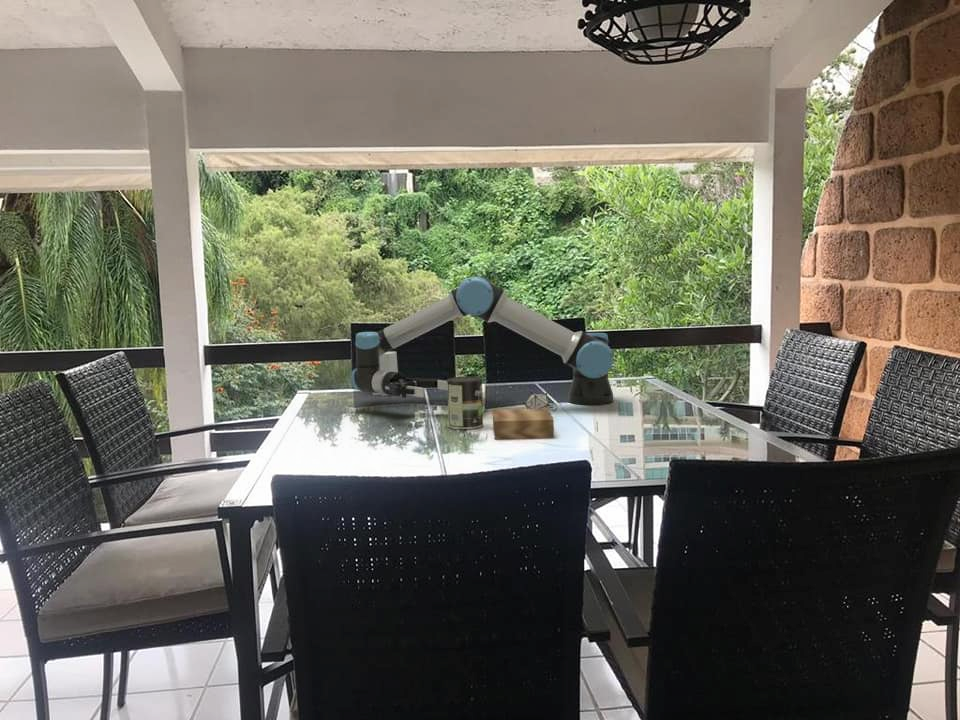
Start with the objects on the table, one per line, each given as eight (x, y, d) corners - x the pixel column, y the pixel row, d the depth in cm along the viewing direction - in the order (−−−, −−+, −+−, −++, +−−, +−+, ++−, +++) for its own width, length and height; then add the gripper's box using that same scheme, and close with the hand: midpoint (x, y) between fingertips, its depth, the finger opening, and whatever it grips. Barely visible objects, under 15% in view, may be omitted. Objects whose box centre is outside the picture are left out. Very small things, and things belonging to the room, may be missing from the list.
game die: (543, 429, 239) (562, 402, 239) (536, 425, 231) (556, 397, 232) (520, 413, 243) (539, 387, 243) (513, 408, 235) (532, 381, 235)
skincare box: (399, 393, 289) (398, 351, 287) (390, 396, 283) (388, 353, 281) (380, 392, 293) (378, 350, 291) (370, 395, 287) (368, 353, 285)
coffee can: (486, 422, 234) (485, 376, 232) (479, 430, 224) (478, 381, 222) (452, 422, 236) (451, 376, 234) (444, 429, 226) (442, 381, 224)
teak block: (547, 425, 228) (547, 408, 227) (553, 437, 212) (553, 419, 211) (493, 426, 228) (492, 409, 227) (494, 439, 212) (494, 421, 211)
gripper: (417, 389, 258) (466, 395, 245) (360, 400, 239) (410, 408, 225) (416, 366, 257) (465, 372, 244) (359, 376, 238) (409, 382, 224)
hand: (439, 389), depth 234 cm, fingers open, 13 cm apart
